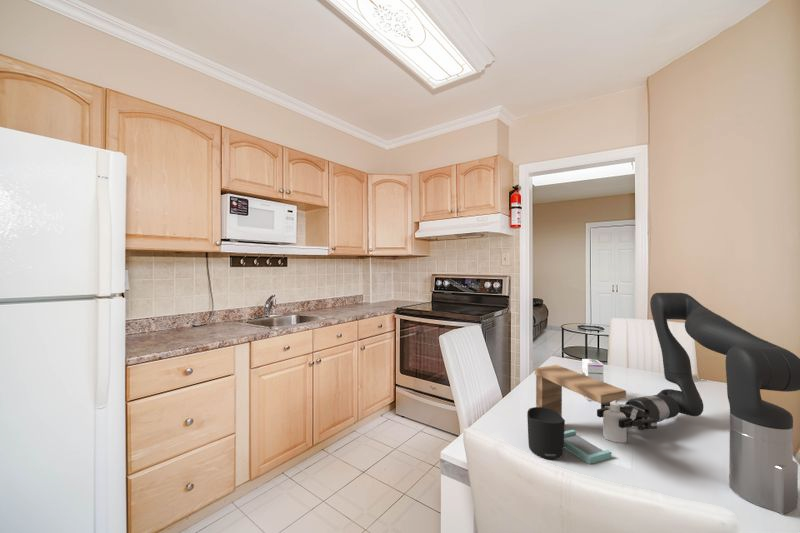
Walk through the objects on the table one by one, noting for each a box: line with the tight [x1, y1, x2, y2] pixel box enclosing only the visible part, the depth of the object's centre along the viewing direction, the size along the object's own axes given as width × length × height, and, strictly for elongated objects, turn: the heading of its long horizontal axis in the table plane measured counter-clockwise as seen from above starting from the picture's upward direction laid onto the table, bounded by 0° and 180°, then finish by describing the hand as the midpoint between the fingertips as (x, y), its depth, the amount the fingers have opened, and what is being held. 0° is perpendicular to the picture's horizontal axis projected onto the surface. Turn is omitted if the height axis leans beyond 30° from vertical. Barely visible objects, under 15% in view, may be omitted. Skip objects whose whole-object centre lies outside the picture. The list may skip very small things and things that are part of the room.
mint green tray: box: [563, 429, 613, 465], centre depth 88 cm, size 12×8×2 cm, turn 20°
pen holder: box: [526, 406, 566, 461], centre depth 87 cm, size 9×9×10 cm
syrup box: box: [581, 358, 605, 402], centre depth 121 cm, size 6×6×14 cm
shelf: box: [534, 364, 627, 418], centre depth 90 cm, size 22×9×19 cm, turn 20°
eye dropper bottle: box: [602, 400, 628, 444], centre depth 92 cm, size 4×6×12 cm
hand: (608, 418), depth 92 cm, fingers open, 6 cm apart
